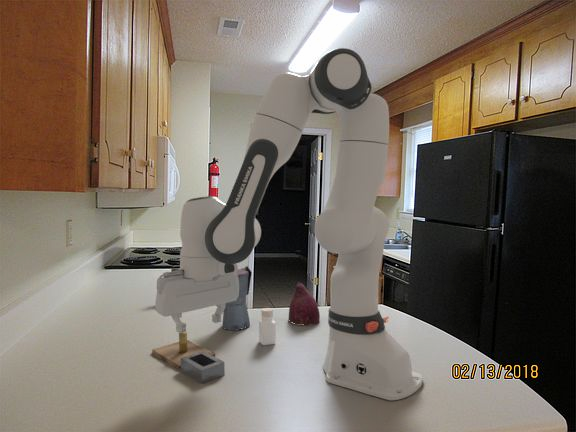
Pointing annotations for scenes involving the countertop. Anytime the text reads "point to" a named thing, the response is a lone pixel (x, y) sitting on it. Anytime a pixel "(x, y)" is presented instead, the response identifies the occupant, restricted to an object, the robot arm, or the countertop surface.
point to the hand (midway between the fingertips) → (199, 326)
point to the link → (202, 366)
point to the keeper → (179, 350)
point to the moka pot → (238, 304)
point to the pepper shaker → (267, 327)
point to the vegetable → (303, 307)
